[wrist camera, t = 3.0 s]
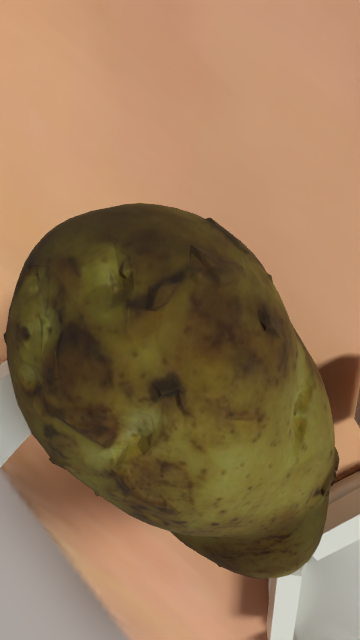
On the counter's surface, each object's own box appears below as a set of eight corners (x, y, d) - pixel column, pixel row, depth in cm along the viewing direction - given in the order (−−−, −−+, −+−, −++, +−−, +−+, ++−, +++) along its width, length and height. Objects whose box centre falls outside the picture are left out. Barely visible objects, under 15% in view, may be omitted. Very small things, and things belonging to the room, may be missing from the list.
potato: (123, 488, 16) (29, 735, 8) (87, 216, 12) (-149, 210, 4) (298, 500, 15) (376, 804, 7) (318, 201, 11) (535, 159, 3)
